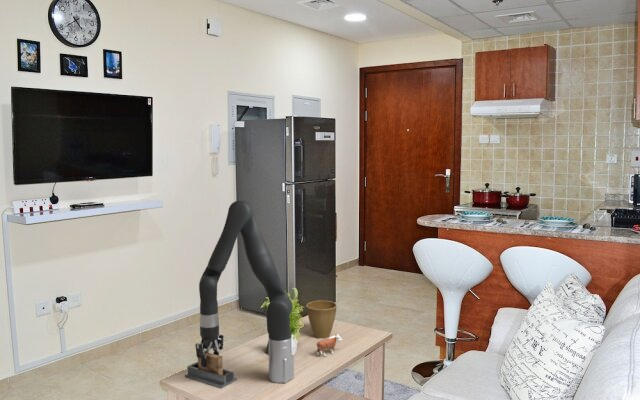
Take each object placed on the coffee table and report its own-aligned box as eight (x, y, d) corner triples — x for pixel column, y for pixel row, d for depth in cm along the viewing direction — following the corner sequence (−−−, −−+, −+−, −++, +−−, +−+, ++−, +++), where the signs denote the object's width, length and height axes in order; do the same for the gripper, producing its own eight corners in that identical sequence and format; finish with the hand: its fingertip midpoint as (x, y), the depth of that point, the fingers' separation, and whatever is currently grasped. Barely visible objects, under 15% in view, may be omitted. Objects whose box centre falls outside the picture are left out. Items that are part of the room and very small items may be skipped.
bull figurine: (343, 352, 253) (343, 334, 252) (319, 358, 246) (319, 340, 245) (337, 349, 257) (337, 332, 256) (313, 355, 249) (313, 338, 248)
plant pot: (304, 332, 280) (304, 301, 279) (333, 330, 283) (333, 299, 281) (309, 342, 266) (309, 309, 264) (339, 340, 268) (339, 308, 267)
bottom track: (236, 380, 224) (236, 370, 223) (221, 388, 216) (221, 378, 216) (200, 369, 234) (200, 360, 234) (184, 377, 227) (184, 367, 226)
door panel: (222, 377, 223) (222, 356, 222) (218, 380, 221) (218, 358, 220) (202, 372, 229) (202, 351, 228) (198, 374, 227) (197, 353, 226)
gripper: (203, 330, 215) (204, 372, 216) (228, 320, 227) (229, 360, 229) (189, 327, 219) (190, 368, 220) (214, 317, 231) (215, 356, 232)
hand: (210, 363), depth 224 cm, fingers open, 6 cm apart
